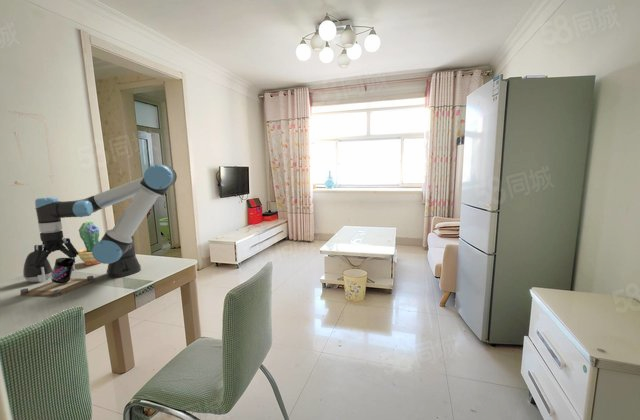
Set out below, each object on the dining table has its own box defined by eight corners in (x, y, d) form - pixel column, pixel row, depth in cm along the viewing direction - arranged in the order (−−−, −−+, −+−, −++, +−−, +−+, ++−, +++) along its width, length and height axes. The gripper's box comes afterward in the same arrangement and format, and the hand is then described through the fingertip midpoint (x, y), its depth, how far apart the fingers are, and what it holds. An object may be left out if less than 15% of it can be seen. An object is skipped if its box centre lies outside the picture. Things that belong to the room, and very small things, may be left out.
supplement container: (48, 279, 130) (53, 258, 130) (66, 277, 137) (71, 257, 136) (54, 284, 127) (59, 263, 127) (72, 282, 133) (77, 262, 133)
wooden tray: (95, 280, 139) (94, 275, 138) (57, 296, 120) (56, 291, 120) (61, 279, 140) (60, 275, 140) (19, 296, 122) (18, 290, 122)
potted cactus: (73, 268, 157) (67, 225, 153) (81, 261, 170) (76, 221, 167) (107, 264, 164) (102, 222, 161) (112, 257, 177) (107, 218, 174)
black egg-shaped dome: (35, 285, 134) (30, 254, 132) (19, 283, 136) (13, 253, 134) (58, 277, 144) (54, 248, 142) (43, 276, 146) (38, 248, 144)
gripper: (70, 225, 139) (76, 266, 142) (11, 237, 115) (20, 286, 117) (84, 225, 139) (89, 266, 141) (27, 237, 114) (36, 286, 117)
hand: (58, 275), depth 129 cm, fingers open, 13 cm apart
